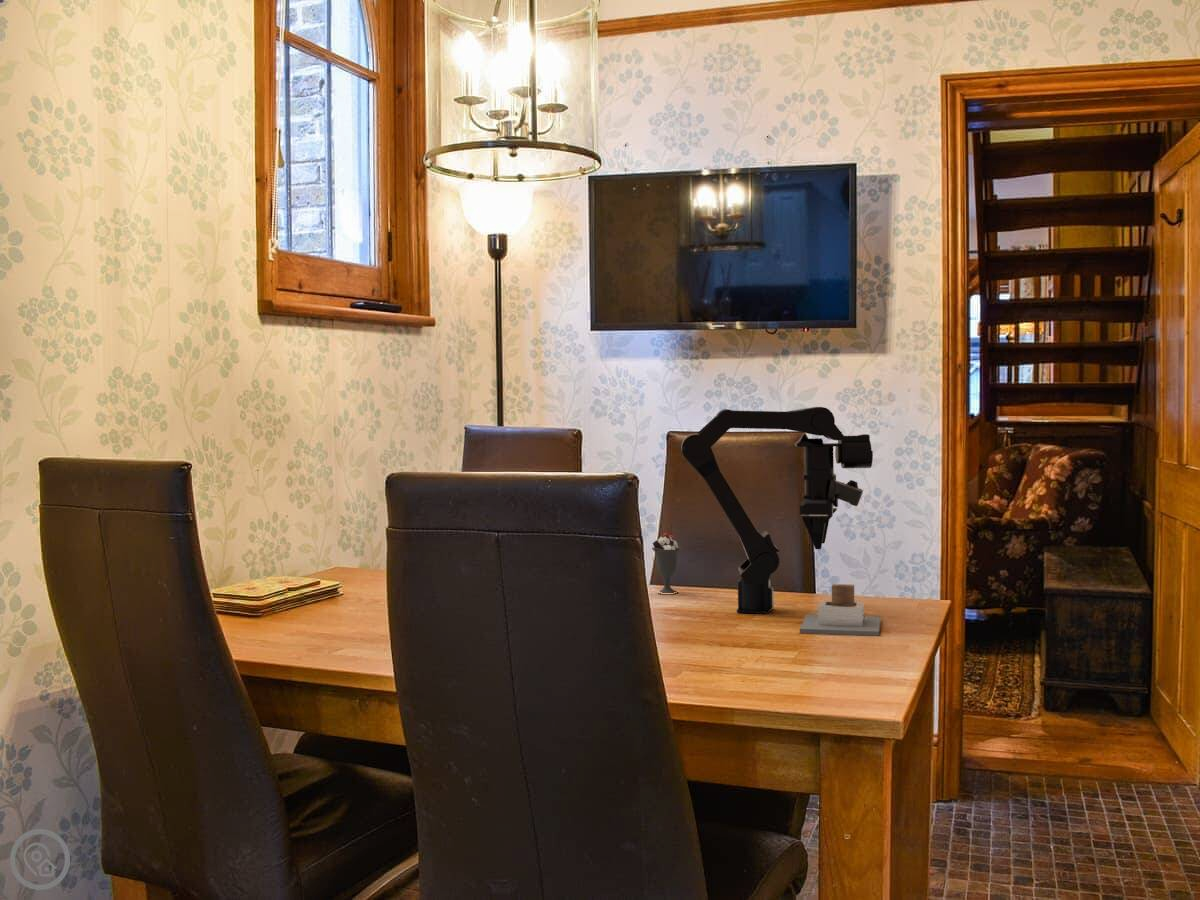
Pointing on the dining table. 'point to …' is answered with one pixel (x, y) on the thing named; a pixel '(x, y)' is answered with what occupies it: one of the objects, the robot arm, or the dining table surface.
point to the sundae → (666, 558)
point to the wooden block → (842, 595)
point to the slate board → (841, 627)
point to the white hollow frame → (840, 614)
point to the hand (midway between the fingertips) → (820, 546)
